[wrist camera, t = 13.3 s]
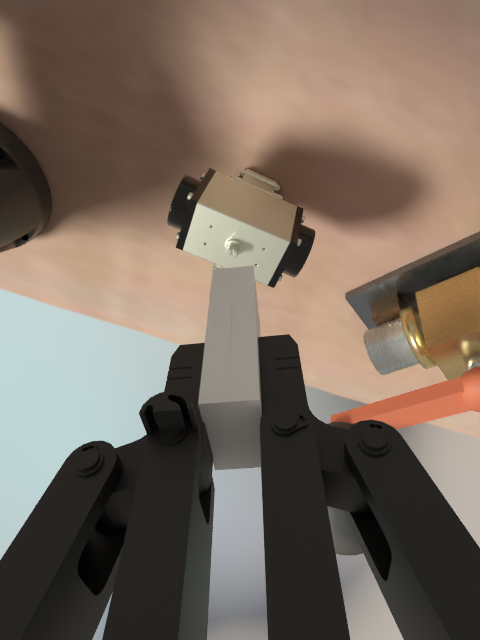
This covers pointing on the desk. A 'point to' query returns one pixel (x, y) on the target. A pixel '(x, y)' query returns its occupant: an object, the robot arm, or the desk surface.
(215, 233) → the pneumatic valve
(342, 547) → the valve lever
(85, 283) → the desk surface
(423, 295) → the valve assembly
